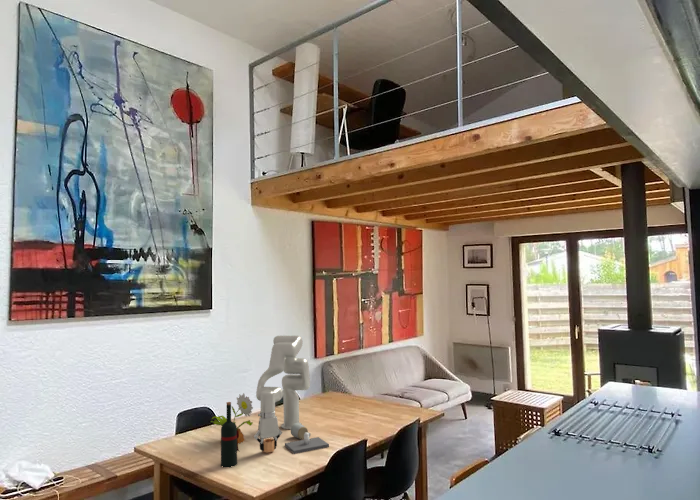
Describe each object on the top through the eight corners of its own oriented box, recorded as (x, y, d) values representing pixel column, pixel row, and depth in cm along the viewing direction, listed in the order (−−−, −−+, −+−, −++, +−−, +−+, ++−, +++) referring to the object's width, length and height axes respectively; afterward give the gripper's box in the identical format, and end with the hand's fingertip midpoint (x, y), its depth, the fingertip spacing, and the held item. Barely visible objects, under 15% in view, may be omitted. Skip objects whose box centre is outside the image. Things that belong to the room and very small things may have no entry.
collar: (261, 449, 254) (261, 439, 254) (272, 447, 256) (271, 437, 257) (264, 453, 248) (264, 443, 248) (275, 450, 251) (275, 441, 251)
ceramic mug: (298, 441, 269) (298, 427, 270) (290, 437, 275) (290, 423, 276) (313, 437, 276) (313, 423, 277) (305, 434, 282) (305, 420, 283)
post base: (284, 446, 261) (284, 432, 262) (318, 439, 271) (318, 426, 271) (294, 453, 249) (293, 439, 249) (329, 447, 258) (328, 432, 259)
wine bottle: (244, 462, 239) (243, 400, 241) (228, 468, 230) (228, 405, 232) (233, 459, 243) (232, 398, 245) (217, 465, 235) (217, 403, 237)
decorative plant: (262, 439, 274) (261, 394, 276) (230, 451, 254) (230, 403, 256) (229, 431, 289) (229, 389, 290) (196, 443, 269) (196, 398, 270)
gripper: (253, 418, 246) (254, 454, 245) (285, 413, 254) (286, 448, 253) (249, 415, 253) (250, 450, 252) (281, 410, 261) (281, 444, 260)
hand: (268, 449), depth 252 cm, fingers closed on collar, 6 cm apart
